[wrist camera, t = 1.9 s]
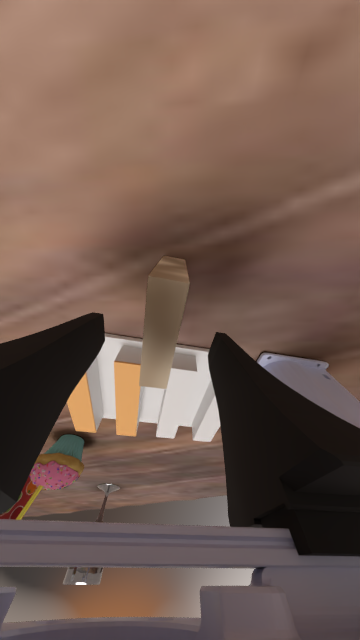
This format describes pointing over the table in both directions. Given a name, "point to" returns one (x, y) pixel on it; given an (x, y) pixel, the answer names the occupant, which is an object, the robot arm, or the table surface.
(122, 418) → the rack
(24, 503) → the smoothie
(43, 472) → the cupcake
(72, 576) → the wine glass
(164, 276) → the block
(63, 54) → the table surface
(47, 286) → the table surface
